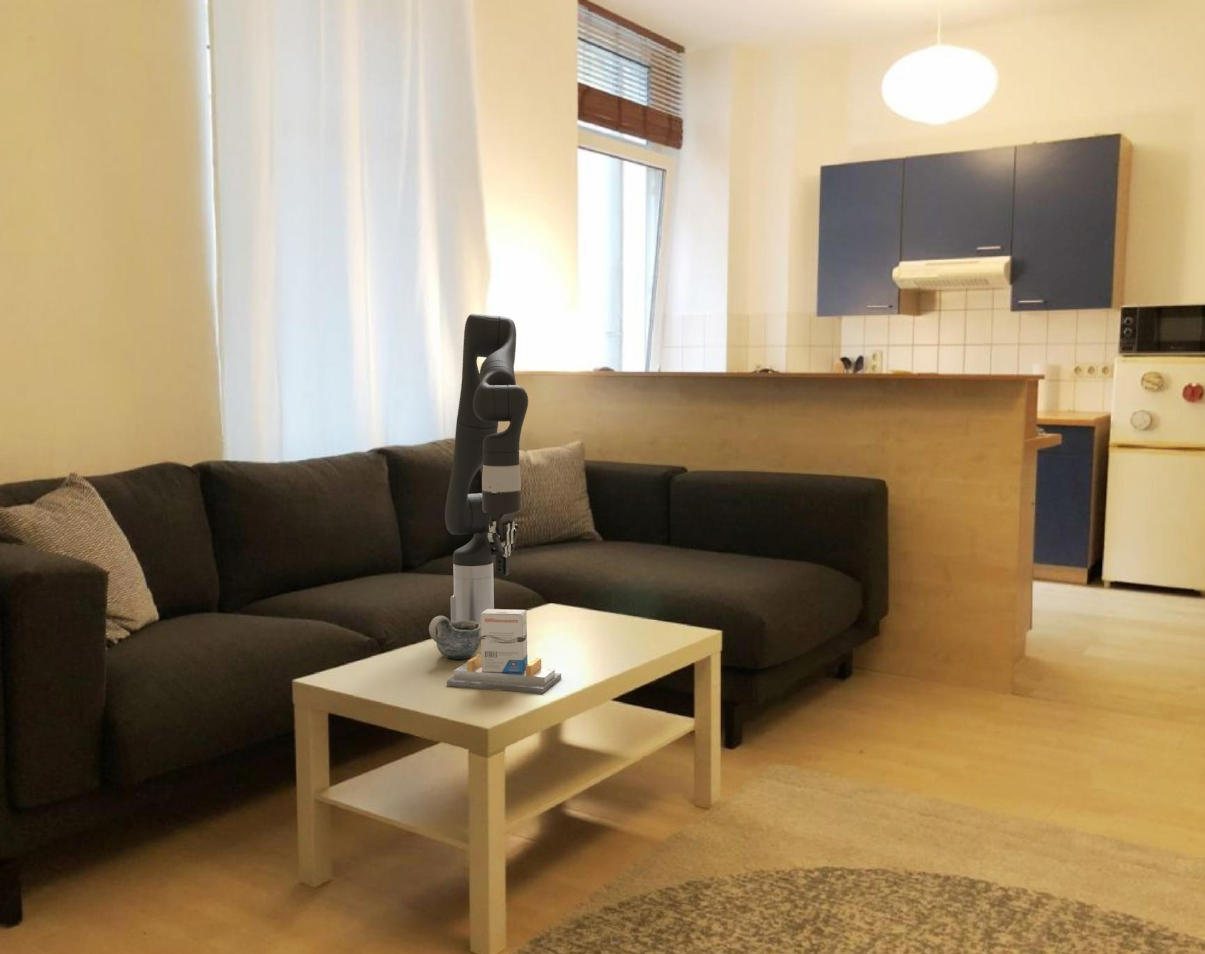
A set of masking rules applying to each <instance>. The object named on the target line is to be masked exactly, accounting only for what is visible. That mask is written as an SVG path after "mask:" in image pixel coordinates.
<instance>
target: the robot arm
mask: <svg viewBox="0 0 1205 954" xmlns="http://www.w3.org/2000/svg"><path fill="white" fill-rule="evenodd" d="M516 327H517V326H516V323H515V322H514V320H513V319H512V318H510V317H507V316H503V315H495V314H493V315H492V314H482V313H471V314H469V315H468V317H467V318H466V321H465V324H464V331H463V345H462V346H463V347H462V367H461V368H462V370H461V385H460V392H459V393H460V395H459V401H458V409H457V416H456V425H455V434H454V451H453V461H452V469H451V475H450V479H449V485H448V491H447V495H446V502H445V508H444V522H445V526H446V529H447V531H448V533H450V534H451V535H456V536H461V535H473V537H472V538H471V540H470V541H468V543H466V544H465V545H463V546H461V547H459V548H457V549H455V550H454V551H453V553H452V564H453V565H452V567H453V568H452V569H453V571H452V572H453V595H451V596H450V600H449V601H450V622H457V621H474V622H476V623H479V624H480V625H481V617H480V616H481V613H482V612H484V611H485V610H486V609H495V602H494V601H495V597H494V595H495V594H494V589H495V588H494V586H495V585H494V583H495V582H494V558H495V575H496V576H497V577H506V576H508V575H509V574H510V556H511V553H512V552H514V550H515V545H516V542H517V538H518V533H519V531H520V525H519V524H516V523H515V516H514V514H517V513H520V512H521V510H522V477H521V470H520V469H521V468H520V440H521V433H522V428H523V425H524V421H525V417H526V414H527V410H528V406H529V397H528V393H527V391H526V390H525V388H524V387H522V386H521V385H517V383H516V376H515V375H516V374H515V370H514V369H515V360H516V351H517V350H516V348H517V329H516ZM478 358H485V359H484V360H483V362H482V363H481V365H480V368H479V367H478ZM499 422H509V425H508V427H506V429H505V430H503V431H500V432H498V428H499ZM481 467H482V475H481V492H479V493H478V492H477V493H469V490H470V487H471V485H472V481H473V480H474V477H475V476H476V474H477V473H478V471H479V470H480V468H481ZM479 641H481V629H480V631H479Z"/></svg>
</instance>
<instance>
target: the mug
mask: <svg viewBox="0 0 1205 954" xmlns="http://www.w3.org/2000/svg"><path fill="white" fill-rule="evenodd" d="M480 629H481V625H480V624H479V623H476V622H474V621H457V622H451V620H450V619H449V618H448V617H446V616H444V615H438V616H437V615H436V616H435V617H434V618H432V619H431V622H430V623H429V626H428V631H429V633H428V634H429V635H430V637H431V639H432V640H433V641H434V642H435V643H436V647H437V650H438V651H439V653H440V654H441V655H442V656H444V657H446V658H450V659H454V660H464V659H468V658H470V657H471V656H473V655H474V654H475V653H476V652H477V651H478V650H479V649H478V648H479V645H480V640H479V631H480Z"/></svg>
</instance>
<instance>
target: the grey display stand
mask: <svg viewBox="0 0 1205 954" xmlns="http://www.w3.org/2000/svg"><path fill="white" fill-rule="evenodd" d="M561 679H562V673H558V672H556V669H554V668H543V667H542V658H539V657H536V658H535V659H533V660H532V661H531V662H528V665H526V669H525V671H524V672H522V673H521V672H482V665H481V653H477V654H476V655H475V656H473V657H471V658H470V659H468V660H467V661H466V662H465V663H463V664H461V665H460V666H459V667H457V668H455V669H453V677H450V678H449V679H447V680H446V687H456V688H457V687H459V688H467V689H480V690H481V689H483V690H494V691H495V690H496V691H504V692H519V693H530V694H539V695H540V694H541V695H542V694H544V693H546V691H548V690H549V689H550V688H551V687H553V686H555V684H556V683H558V682H559V681H560V680H561Z"/></svg>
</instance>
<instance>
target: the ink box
mask: <svg viewBox="0 0 1205 954" xmlns="http://www.w3.org/2000/svg"><path fill="white" fill-rule="evenodd" d="M480 617H481V639H480V652H481V653H480V654H481V665H482V672H521V673H522V672H524V671H525V669H526V665H528V664H529V662H528V660H529V659H528V629H527V628H528V627H527V626H528V623H527V617H528V615H527V609H501V608H494V609H486V610H485V611H484V612H482V613H481V616H480Z"/></svg>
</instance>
